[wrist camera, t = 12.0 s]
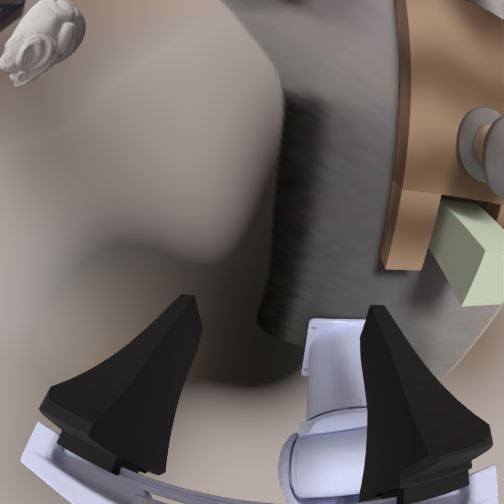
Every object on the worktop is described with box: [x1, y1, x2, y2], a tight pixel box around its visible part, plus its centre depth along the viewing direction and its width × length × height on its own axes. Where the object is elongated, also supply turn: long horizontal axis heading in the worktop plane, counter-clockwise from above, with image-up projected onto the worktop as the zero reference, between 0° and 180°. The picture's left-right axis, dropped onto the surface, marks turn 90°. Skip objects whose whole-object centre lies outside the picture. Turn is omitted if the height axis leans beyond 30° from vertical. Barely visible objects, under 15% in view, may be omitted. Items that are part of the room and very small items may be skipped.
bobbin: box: [457, 107, 504, 200], centre depth 10 cm, size 5×5×4 cm
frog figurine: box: [0, 0, 86, 87], centre depth 10 cm, size 6×7×7 cm
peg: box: [428, 199, 504, 306], centre depth 14 cm, size 4×4×7 cm
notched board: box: [379, 0, 504, 270], centre depth 13 cm, size 20×12×2 cm, turn 3°
